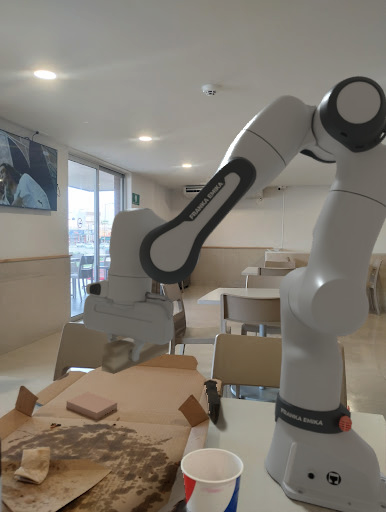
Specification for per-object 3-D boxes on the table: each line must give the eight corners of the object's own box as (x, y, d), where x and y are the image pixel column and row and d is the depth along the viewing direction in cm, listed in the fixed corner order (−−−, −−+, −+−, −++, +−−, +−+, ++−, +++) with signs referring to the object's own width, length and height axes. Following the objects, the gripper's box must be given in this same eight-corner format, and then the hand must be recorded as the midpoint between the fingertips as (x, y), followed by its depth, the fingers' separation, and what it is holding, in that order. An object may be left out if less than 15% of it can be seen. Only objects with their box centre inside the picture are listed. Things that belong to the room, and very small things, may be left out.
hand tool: (203, 392, 106) (204, 376, 106) (217, 393, 106) (218, 377, 106) (203, 425, 87) (204, 405, 87) (220, 426, 87) (221, 407, 87)
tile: (117, 402, 92) (87, 391, 97) (96, 413, 86) (66, 401, 91) (116, 410, 92) (87, 399, 97) (96, 421, 86) (66, 409, 91)
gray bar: (168, 352, 87) (170, 331, 87) (113, 374, 70) (116, 347, 69) (157, 349, 89) (159, 329, 89) (101, 370, 71) (103, 344, 71)
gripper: (182, 294, 72) (177, 364, 73) (100, 282, 81) (96, 344, 82) (165, 298, 67) (159, 374, 67) (80, 284, 76) (75, 351, 76)
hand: (124, 357), depth 75 cm, fingers closed on gray bar, 3 cm apart
